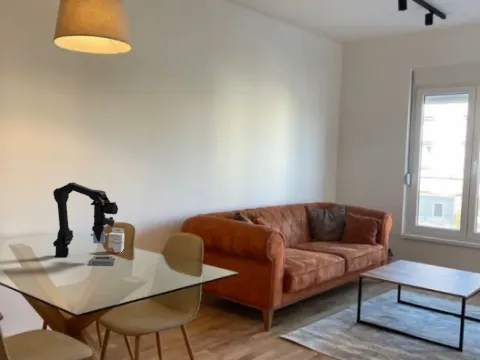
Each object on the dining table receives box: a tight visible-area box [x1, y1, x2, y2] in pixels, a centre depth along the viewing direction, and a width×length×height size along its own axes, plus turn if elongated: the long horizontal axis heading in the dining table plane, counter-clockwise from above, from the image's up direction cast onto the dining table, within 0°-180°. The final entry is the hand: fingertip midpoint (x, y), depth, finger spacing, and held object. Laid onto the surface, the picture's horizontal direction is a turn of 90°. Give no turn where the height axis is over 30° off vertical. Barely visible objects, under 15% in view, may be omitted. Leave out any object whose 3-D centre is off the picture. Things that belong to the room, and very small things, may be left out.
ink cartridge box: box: [107, 227, 125, 254], centre depth 308 cm, size 9×5×15 cm, turn 84°
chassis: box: [88, 255, 116, 266], centre depth 282 cm, size 13×13×2 cm
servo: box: [90, 230, 109, 244], centre depth 283 cm, size 9×4×6 cm, turn 101°
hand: (99, 240), depth 283 cm, fingers closed on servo, 4 cm apart
